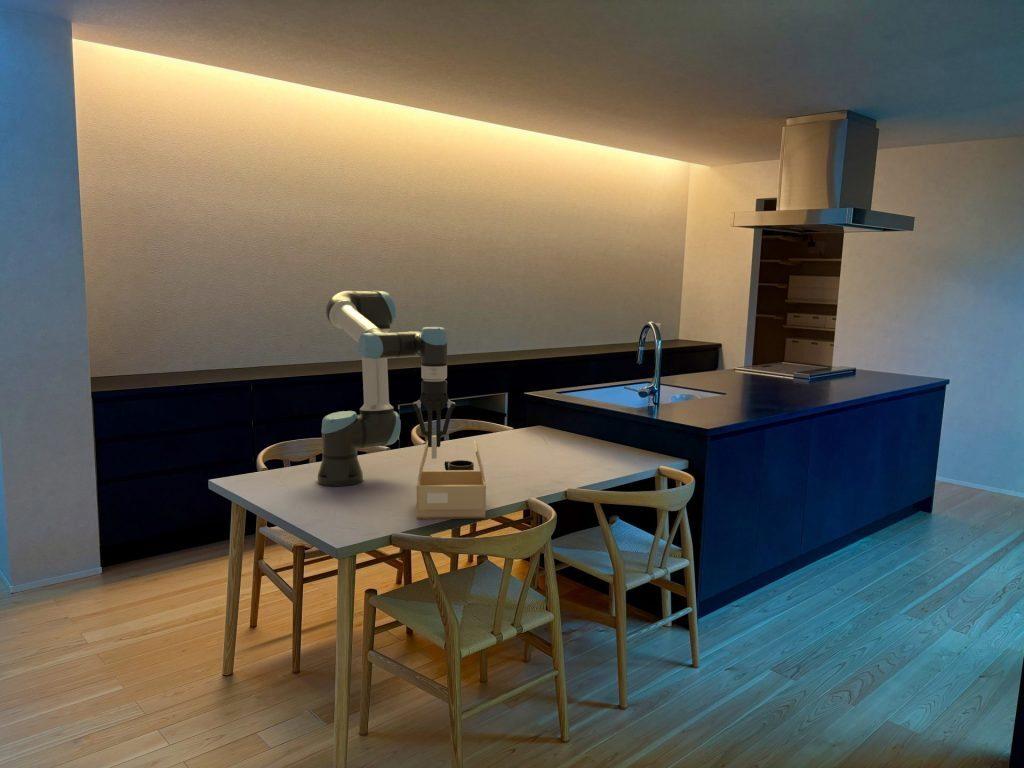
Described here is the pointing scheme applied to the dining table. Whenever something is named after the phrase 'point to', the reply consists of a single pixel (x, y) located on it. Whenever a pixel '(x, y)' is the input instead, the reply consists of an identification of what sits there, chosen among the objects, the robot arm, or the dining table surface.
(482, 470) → the flap right
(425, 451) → the flap left
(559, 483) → the dining table surface
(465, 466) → the mug
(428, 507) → the carton
